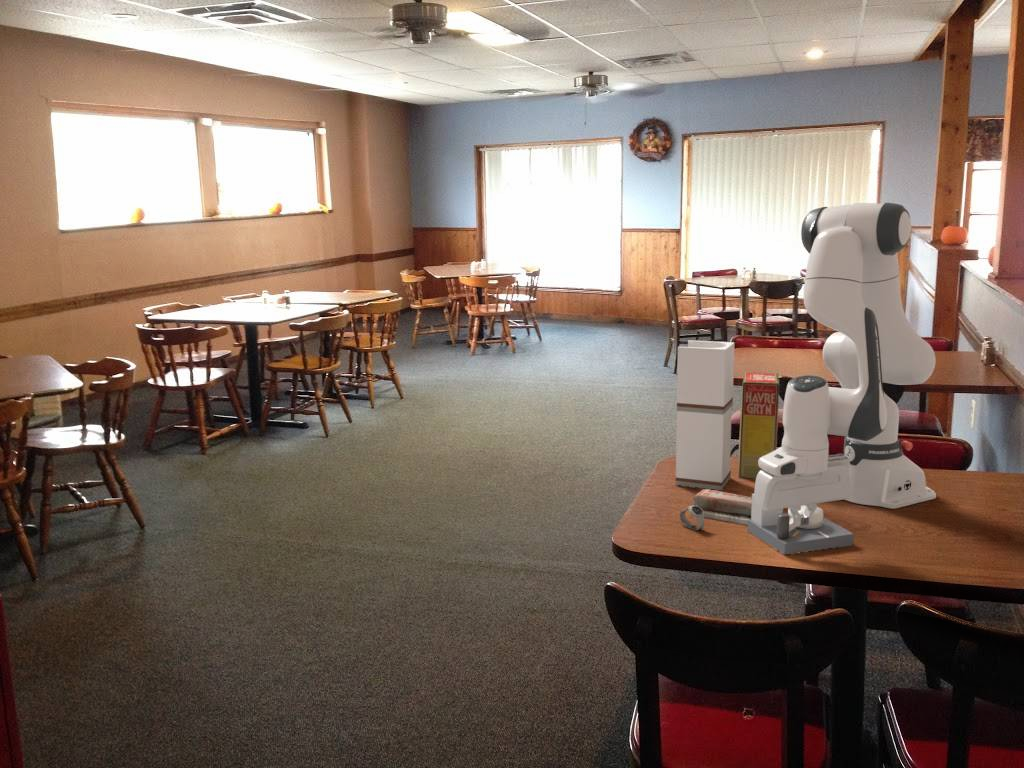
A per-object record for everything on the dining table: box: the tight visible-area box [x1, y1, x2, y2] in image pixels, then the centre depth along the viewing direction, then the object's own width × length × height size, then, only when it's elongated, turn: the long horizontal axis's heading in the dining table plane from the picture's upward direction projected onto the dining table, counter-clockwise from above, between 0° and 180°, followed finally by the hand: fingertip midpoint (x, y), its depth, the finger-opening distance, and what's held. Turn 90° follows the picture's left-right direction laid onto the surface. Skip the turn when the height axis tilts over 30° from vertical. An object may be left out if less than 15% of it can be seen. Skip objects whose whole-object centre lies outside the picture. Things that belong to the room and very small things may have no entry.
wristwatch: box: [679, 504, 706, 531], centre depth 192 cm, size 4×6×5 cm, turn 36°
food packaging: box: [737, 371, 780, 479], centre depth 227 cm, size 13×9×25 cm
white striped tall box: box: [675, 339, 735, 491], centre depth 219 cm, size 11×11×35 cm
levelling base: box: [746, 493, 855, 555], centre depth 184 cm, size 16×14×8 cm
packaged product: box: [689, 488, 752, 526], centre depth 199 cm, size 18×5×10 cm
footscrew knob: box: [777, 505, 824, 539], centre depth 183 cm, size 15×7×4 cm, turn 136°
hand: (802, 524), depth 177 cm, fingers closed
